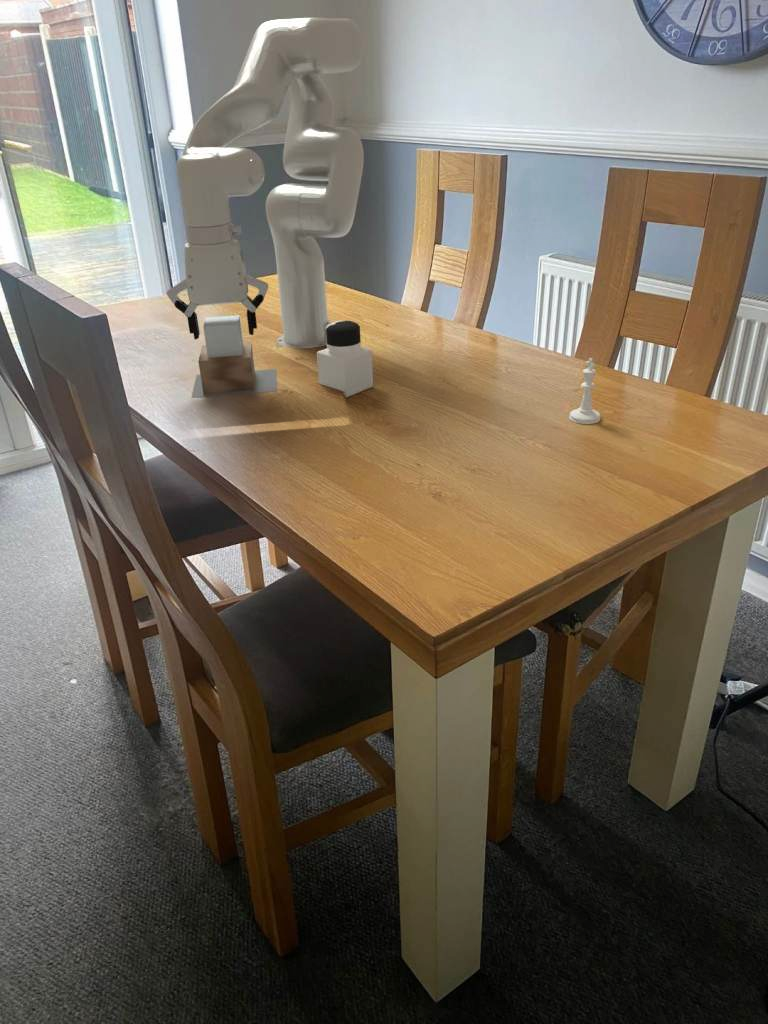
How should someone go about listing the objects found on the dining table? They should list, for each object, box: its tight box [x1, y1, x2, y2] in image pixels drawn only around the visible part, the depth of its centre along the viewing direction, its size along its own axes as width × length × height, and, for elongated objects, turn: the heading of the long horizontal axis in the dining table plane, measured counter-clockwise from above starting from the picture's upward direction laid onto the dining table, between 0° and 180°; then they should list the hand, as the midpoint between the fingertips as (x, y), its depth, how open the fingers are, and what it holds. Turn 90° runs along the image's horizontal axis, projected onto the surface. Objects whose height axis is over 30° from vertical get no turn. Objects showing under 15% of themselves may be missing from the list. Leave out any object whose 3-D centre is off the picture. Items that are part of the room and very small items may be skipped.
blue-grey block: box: [202, 314, 244, 358], centre depth 140 cm, size 6×6×6 cm
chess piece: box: [568, 357, 601, 425], centre depth 125 cm, size 5×5×10 cm
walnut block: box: [198, 341, 255, 394], centre depth 143 cm, size 9×9×6 cm
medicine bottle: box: [316, 320, 374, 398], centre depth 140 cm, size 7×7×12 cm
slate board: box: [190, 368, 278, 399], centre depth 145 cm, size 15×12×1 cm
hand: (224, 334), depth 140 cm, fingers open, 9 cm apart
